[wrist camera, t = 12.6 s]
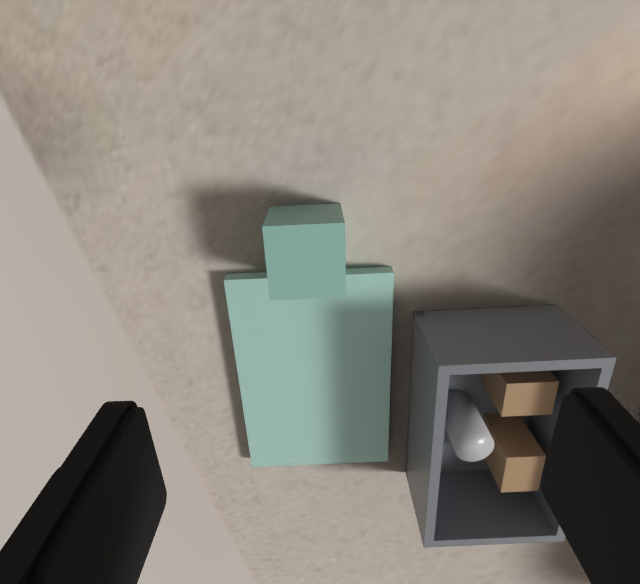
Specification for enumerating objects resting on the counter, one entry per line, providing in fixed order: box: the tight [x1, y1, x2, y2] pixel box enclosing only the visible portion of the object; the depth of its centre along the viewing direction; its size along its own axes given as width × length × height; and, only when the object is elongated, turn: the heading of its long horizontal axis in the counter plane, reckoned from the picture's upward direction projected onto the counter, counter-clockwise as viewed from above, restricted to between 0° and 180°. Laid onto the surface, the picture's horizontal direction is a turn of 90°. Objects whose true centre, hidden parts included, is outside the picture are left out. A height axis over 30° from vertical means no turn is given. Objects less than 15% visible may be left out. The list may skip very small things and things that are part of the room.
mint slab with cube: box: [224, 203, 394, 467], centre depth 27 cm, size 19×10×4 cm, turn 3°
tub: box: [406, 305, 617, 547], centre depth 27 cm, size 14×9×6 cm, turn 3°
